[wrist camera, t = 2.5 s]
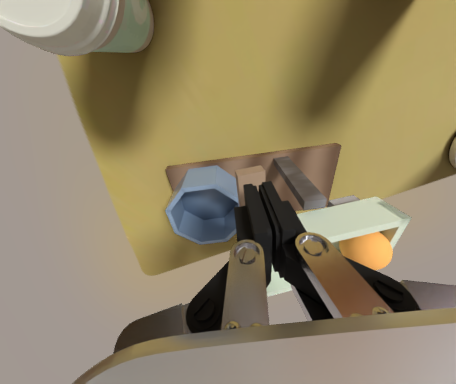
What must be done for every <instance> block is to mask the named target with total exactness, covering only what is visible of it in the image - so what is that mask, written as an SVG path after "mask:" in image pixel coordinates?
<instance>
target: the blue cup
mask: <svg viewBox="0 0 456 384" xmlns="http://www.w3.org/2000/svg"><path fill="white" fill-rule="evenodd" d="M234 207H239V201H238V193H237V185H236V178H235V177H233V176H232V175H230V174H229V173H227V172H226V171H224V170H223V169H222V168H220V167H219V166H217V165H215V166H208V167H200V168H193V169H188V171H187V172H186V173H185V175H184V176H183V178H182V179H181V181H180V182H179V184H178V185H177V186H176V188H175V190H174V192H173V194H172V196H171V199H170V201H169V203H168V205H167V208H166V210H165V211H166V214H167V216H168V218H169V221H170V223H171V225H172V228H173V230H174V232H175V234H178V235H180V236H182V237H184V238H186V239H189V240H191V241H193V242H195V243H197V244H199V245H201V244H210V243H218V242H227V241H228V240H229V239H230V238H231V237H232V236H234V235H235V234H236V233H237V232H236V223H235V214H234Z"/></svg>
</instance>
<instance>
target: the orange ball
mask: <svg viewBox="0 0 456 384" xmlns="http://www.w3.org/2000/svg"><path fill="white" fill-rule="evenodd" d="M339 248H340V251H341V253H342V255H343V256H344V257H347V258H349V259H351V260H353V261H355V262H358V263H360V264H362V265H364V266H366V267H369V268H371V269H373V270H379V269H381V268H384V267H385V266H387V264H388V263H389V262H390V261H391V259H392V255H393V251H392V246H391V244H390V242H389V241H388V239H387V238H386V237H385V236H384V235H383V234H381V233H380V232H375V233H370V234H366V235H362V236H358V237H354V238H350V239H346V240H341V241H339Z"/></svg>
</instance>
